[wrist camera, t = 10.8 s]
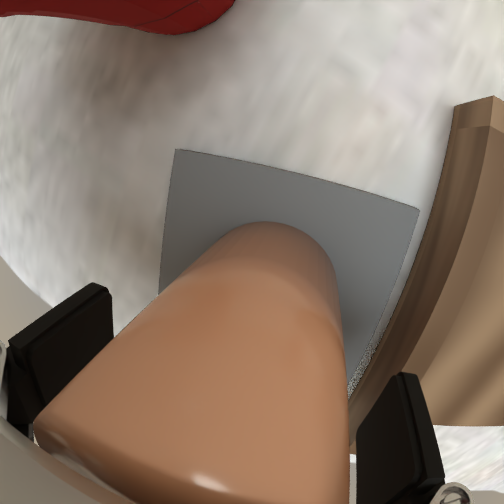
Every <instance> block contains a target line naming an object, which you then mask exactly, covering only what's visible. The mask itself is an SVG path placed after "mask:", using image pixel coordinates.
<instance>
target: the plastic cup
mask: <svg viewBox="0 0 504 504" xmlns="http://www.w3.org/2000/svg"><path fill="white" fill-rule="evenodd" d="M234 1H235V0H0V17H7V16H13V15H37V16H50V17H61V18H69V19H77V20H84V21H90V22H97V23H102V24H108V25H117V26H127V27H131V28H134V29H138V30H142V31H146V32H151V33H159V34H165V35H168V34H170V35H177V34H182V33H187V32H193V31H196V30H198V29H200V28H202V27H204V26H206V25H208V24H210V23H212V22H214V21H216V20H217V19H218V18H219V17H220V16H221V15H222V14H223V13H225V12H226V11H227V10H228V9H229V8H230V7H231V6H232V5H233V3H234Z"/></svg>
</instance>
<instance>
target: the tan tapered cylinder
mask: <svg viewBox="0 0 504 504" xmlns="http://www.w3.org/2000/svg"><path fill="white" fill-rule="evenodd" d="M33 430H34V435H35V437H36V440H37V443H38V445H39V447H40V448H42V449H43V450H44V451H46V452H47V453H48V454H50V455H51V456H53V457H54V458H56V459H57V460H59V461H60V462H62V463H63V464H65V465H66V466H68V467H69V468H71V469H72V470H74V471H76V472H77V473H79V474H80V475H82V476H84V477H85V478H87V479H89V480H91V481H92V482H94V483H96V484H98V485H99V486H101V487H103V488H105V489H107V490H109V491H111V492H113V493H115V494H117V495H118V496H120V497H123V498H125V499H127V500H129V501H131V502H133V503H135V504H349V487H350V443H349V411H348V391H347V375H346V361H345V349H344V338H343V328H342V318H341V309H340V301H339V292H338V284H337V278H336V273H335V270H334V267H333V264H332V262H331V260H330V258H329V256H328V255H327V253H326V252H325V250H324V249H323V248H322V247H321V246H320V245H319V244H318V243H317V242H316V241H315V240H314V239H313V238H312V237H311V236H309V235H307V234H306V233H304V232H303V231H301V230H299V229H297V228H295V227H292V226H289V225H286V224H283V223H278V222H268V221H262V222H253V223H248V224H244V225H242V226H239V227H236V228H234V229H233V230H231V231H229V232H227V233H226V234H225V235H223V236H222V237H221V238H220V239H219V240H218V241H216V242H215V243H214V244H213V245H212V246H211V247H210V248H209V249H208V250H207V251H206V252H204V253H203V254H202V255H201V256H200V257H199V258H198V259H197V260H196V261H195V262H194V263H192V264H191V265H190V266H189V267H188V268H187V269H186V270H185V271H184V272H183V273H182V274H181V275H180V276H178V277H177V278H176V279H175V280H174V281H173V282H172V283H171V284H170V285H169V286H168V287H167V288H166V289H165V290H164V291H162V292H161V293H160V294H159V295H158V296H157V297H156V298H155V299H154V300H153V301H152V302H151V303H150V304H149V305H148V306H147V307H146V308H145V309H144V310H142V311H141V312H140V313H139V314H138V315H137V316H136V317H135V318H134V319H133V320H132V321H131V322H130V323H129V324H128V325H127V326H126V327H125V328H124V329H123V330H122V331H121V332H120V333H119V334H118V335H117V336H116V337H115V338H114V339H113V340H112V341H110V342H109V343H108V344H107V345H106V346H105V347H104V348H103V349H102V350H101V351H100V352H99V353H98V354H97V355H96V356H95V357H94V358H93V359H92V360H91V361H90V362H89V363H88V364H87V365H86V366H85V367H84V368H83V369H82V370H81V371H80V372H79V373H78V374H77V375H76V376H75V377H74V378H73V379H72V380H71V381H70V382H69V383H68V385H67V386H66V387H65V388H64V389H63V390H62V391H61V392H60V393H59V394H58V395H57V396H56V397H55V398H54V399H53V400H52V401H51V402H50V403H49V404H48V405H47V406H46V407H45V408H44V409H43V410H42V411H41V412H40V414H39V415H38V416H37V417H36V418H35V420H34V424H33Z"/></svg>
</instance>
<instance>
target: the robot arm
mask: <svg viewBox="0 0 504 504" xmlns="http://www.w3.org/2000/svg"><path fill="white" fill-rule="evenodd" d="M113 339H114V334H113V315H112V296H111V294H110V293H109V290H108V289H107V288H106V287H104V286H101V285H99V284H96V283H93V282H92V283H90V284H88V285H87V286H85V287H84V288H82V289H81V290H79V291H78V292H76V293H75V294H73V295H72V296H70V297H69V298H67V299H66V300H64V301H63V302H61V303H60V304H58V305H57V306H55V307H54V308H53V309H51V310H50V311H48V312H47V313H46V314H44V315H43V316H41V317H40V318H38V319H37V320H35V321H34V322H33V323H31V324H30V325H28V326H27V327H26V328H24V329H23V330H22V331H20V332H19V333H18V334H16V335H15V336H13V337H12V338H11V339H9V340H8V342H9V345H10V346H9V347H8V348H6V347H5V344H4V343H3V342H2V341H0V504H135V503H133V502H131V501H129V500H127V499H125V498H123V497H120V496H118V495H117V494H115V493H113V492H111V491H109V490H107V489H105V488H103V487H101V486H99V485H98V484H96V483H94V482H92V481H91V480H89V479H87V478H85V477H84V476H82V475H80V474H79V473H77V472H76V471H74V470H72V469H71V468H69V467H68V466H66V465H65V464H63V463H62V462H60V461H59V460H57V459H56V458H54V457H53V456H51V455H50V454H48V453H47V452H46V451H44V450H43V449H42V448H40V447H39V446H37V445H36V444H35V443H34V430H33V422H34V420H35V418H36V417H37V416H38V415H39V414H40V412H41V411H42V410H43V409H44V408H45V407H46V406H47V405H48V404H49V403H50V402H51V401H52V400H53V399H54V398H55V397H56V396H57V395H58V394H59V393H60V392H61V391H62V390H63V389H64V388H65V387H66V386H67V385H68V383H69V382H70V381H71V380H72V379H73V378H74V377H75V376H76V375H77V374H78V373H79V372H80V371H81V370H82V369H83V368H84V367H85V366H86V365H87V364H88V363H89V362H90V361H91V360H92V359H93V358H94V357H95V356H96V355H97V354H98V353H99V352H100V351H101V350H102V349H103V348H104V347H105V346H106V345H107V344H108V343H109V342H110V341H112V340H113ZM356 469H357V494H356V496H357V497H356V504H474V499H473V495H472V493H471V492H470V490H469V489H468V488H467V487H466V486H464V485H462V484H460V483H456V482H451V483H447V484H445V480H444V478H445V473H444V469H443V464H442V460H441V456H440V452H439V447H438V444H437V440H436V436H435V432H434V428H433V425H432V421H431V418H430V414H429V411H428V407H427V404H426V401H425V397H424V394H423V391H422V388H421V385H420V382H419V379H418V376H417V375H416V374H413V373H407V372H399V373H397V375H393V376H392V377H391V378H390V379H389V381H388V383H387V384H386V386H385V388H384V389H383V391H382V393H381V394H380V396H379V397H378V399H377V400H376V402H375V404H374V405H373V407H372V408H371V410H370V411H369V413H368V414H367V416H366V417H365V418H364V420H363V421H362V423H361V424H360V426H359V427H358V429H357V432H356Z"/></svg>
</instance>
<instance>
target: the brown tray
mask: <svg viewBox="0 0 504 504" xmlns="http://www.w3.org/2000/svg"><path fill="white" fill-rule="evenodd" d="M399 372H407V373H413V374H416V375H417V376H418V379H419V382H420V385H421V388H422V391H423V394H424V397H425V401H426V404H427V407H428V411H429V414H430V418H431V421H432V425H444V426H504V101H502V100H501V99H499V98H497V97H495V96H494V95H493V96H490V97H486V98H482V99H478V100H475V101H471V102H467V103H464V104H460V105H457V106H455V109H454V115H453V121H452V127H451V132H450V137H449V142H448V147H447V152H446V157H445V161H444V165H443V170H442V174H441V178H440V182H439V186H438V189H437V193H436V197H435V200H434V204H433V207H432V211H431V214H430V217H429V220H428V224H427V227H426V230H425V233H424V236H423V239H422V242H421V245H420V248H419V250H418V253H417V256H416V259H415V262H414V264H413V267H412V270H411V272H410V275H409V277H408V280H407V282H406V285H405V287H404V290H403V292H402V295H401V297H400V299H399V302H398V304H397V306H396V309H395V311H394V313H393V315H392V318H391V320H390V322H389V324H388V326H387V329H386V331H385V333H384V335H383V337H382V339H381V341H380V343H379V345H378V347H377V349H376V351H375V353H374V355H373V357H372V359H371V361H370V363H369V365H368V367H367V369H366V370H365V372H364V374H363V376H362V378H361V380H360V381H359V383H358V385H357V387H356V389H355V390H354V392H353V394H352V396H351V397H350V399H349V401H348V411H349V443H350V454H356V432H357V429H358V427H359V426H360V424H361V423H362V421H363V420H364V418H365V417H366V416H367V414H368V413H369V411H370V410H371V408H372V407H373V405H374V404H375V402H376V400H377V399H378V397H379V396H380V394H381V393H382V391H383V389H384V388H385V386H386V384H387V383H388V381H389V379H390V378H391V377H392V376H393V375H397V373H399Z"/></svg>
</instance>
